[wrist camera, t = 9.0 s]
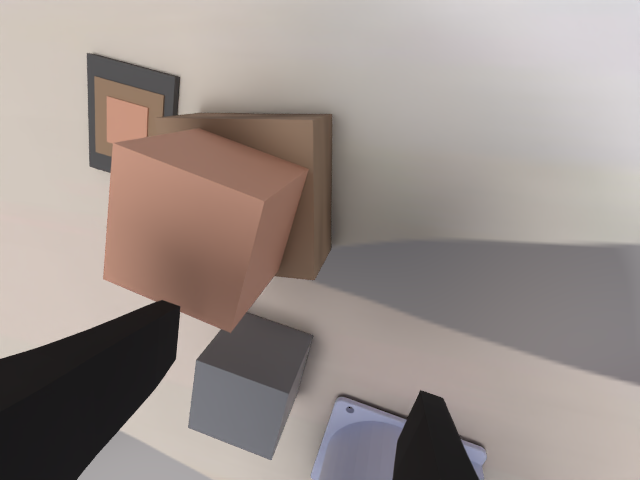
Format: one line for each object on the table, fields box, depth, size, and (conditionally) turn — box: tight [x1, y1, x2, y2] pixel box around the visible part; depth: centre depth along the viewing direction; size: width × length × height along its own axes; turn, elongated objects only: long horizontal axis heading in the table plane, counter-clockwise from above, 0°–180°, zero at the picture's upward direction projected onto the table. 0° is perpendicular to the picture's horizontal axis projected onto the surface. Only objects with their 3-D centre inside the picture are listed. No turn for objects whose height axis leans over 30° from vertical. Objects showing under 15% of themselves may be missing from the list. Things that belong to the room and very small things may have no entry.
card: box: [87, 53, 180, 173], centre depth 20 cm, size 5×6×1 cm
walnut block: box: [155, 113, 332, 280], centre depth 19 cm, size 7×7×4 cm
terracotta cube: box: [103, 128, 309, 333], centre depth 14 cm, size 5×5×5 cm
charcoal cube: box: [188, 312, 313, 460], centre depth 22 cm, size 5×5×5 cm
